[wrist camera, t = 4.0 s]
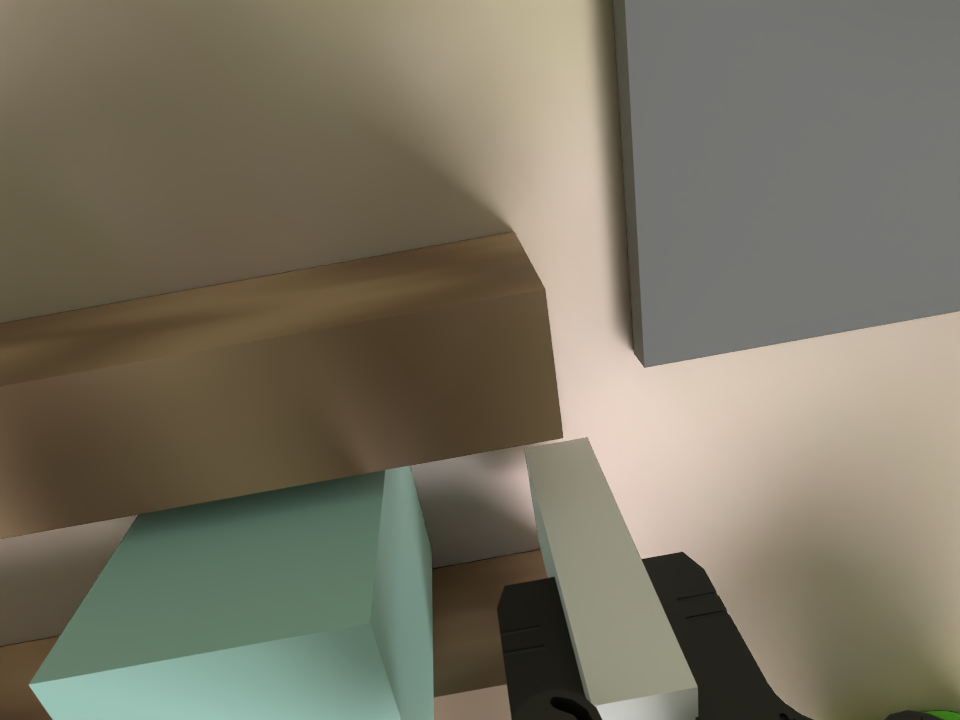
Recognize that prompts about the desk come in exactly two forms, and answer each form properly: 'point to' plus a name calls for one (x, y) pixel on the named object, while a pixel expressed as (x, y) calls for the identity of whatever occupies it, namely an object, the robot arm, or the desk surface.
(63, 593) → the desk surface
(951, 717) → the cup
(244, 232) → the desk surface
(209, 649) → the teal block
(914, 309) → the rubber mat
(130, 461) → the parallel wooden bars
